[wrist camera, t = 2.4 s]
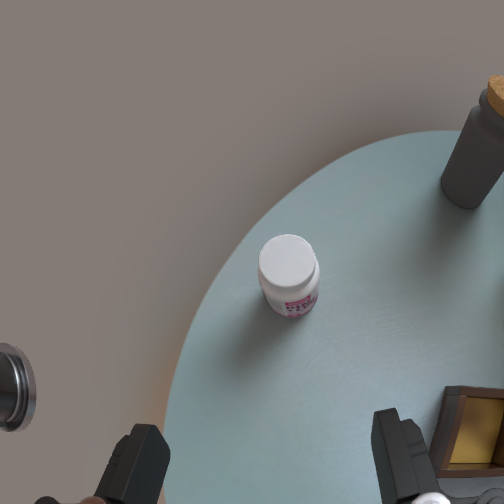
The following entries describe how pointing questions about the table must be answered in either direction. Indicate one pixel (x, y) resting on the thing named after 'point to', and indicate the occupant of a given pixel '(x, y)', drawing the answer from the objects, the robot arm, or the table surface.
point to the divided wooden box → (469, 433)
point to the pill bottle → (289, 275)
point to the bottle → (478, 150)
